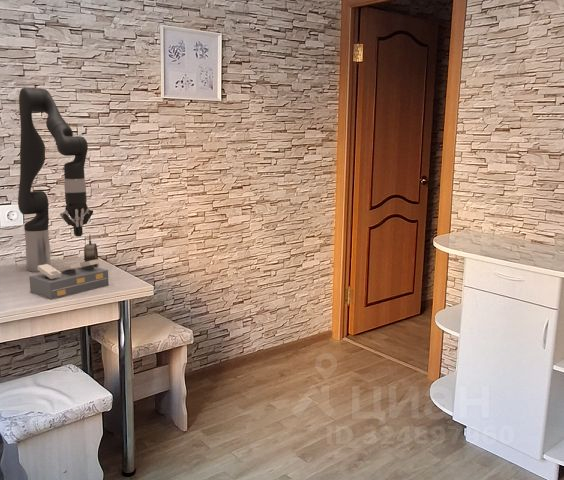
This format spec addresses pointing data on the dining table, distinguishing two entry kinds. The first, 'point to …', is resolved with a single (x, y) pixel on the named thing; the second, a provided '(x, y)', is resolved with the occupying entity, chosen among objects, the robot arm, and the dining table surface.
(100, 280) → the switch unit
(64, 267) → the rocker
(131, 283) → the dining table surface
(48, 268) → the rocker
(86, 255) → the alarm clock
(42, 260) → the robot arm
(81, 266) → the rocker
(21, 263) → the dining table surface
